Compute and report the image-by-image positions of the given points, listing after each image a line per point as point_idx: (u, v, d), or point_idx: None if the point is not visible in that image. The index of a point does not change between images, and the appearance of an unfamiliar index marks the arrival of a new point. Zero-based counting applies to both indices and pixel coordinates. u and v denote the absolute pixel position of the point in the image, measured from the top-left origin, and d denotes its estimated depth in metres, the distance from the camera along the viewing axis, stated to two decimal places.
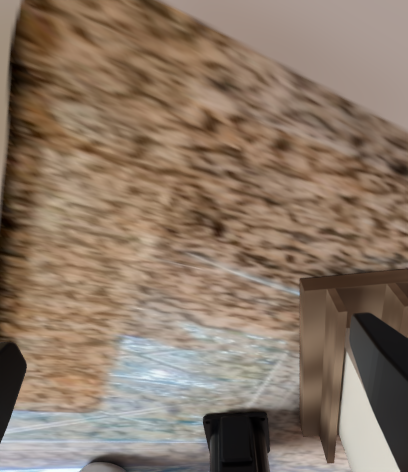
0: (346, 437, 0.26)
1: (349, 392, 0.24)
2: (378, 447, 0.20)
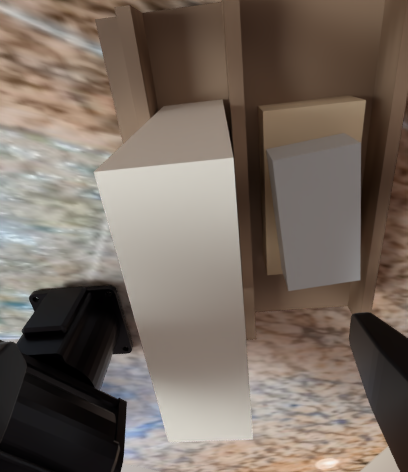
0: None
1: None
2: None
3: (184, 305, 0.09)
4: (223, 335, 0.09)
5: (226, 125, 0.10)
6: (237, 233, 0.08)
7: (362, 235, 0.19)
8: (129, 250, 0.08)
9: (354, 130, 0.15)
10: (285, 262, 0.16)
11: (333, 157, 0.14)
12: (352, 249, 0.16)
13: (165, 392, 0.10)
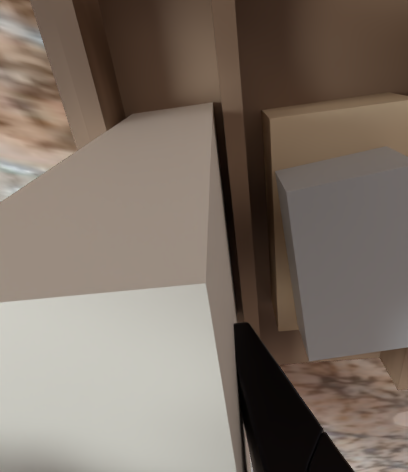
0: None
1: None
2: None
3: None
4: None
5: (209, 152, 0.06)
6: (227, 434, 0.03)
7: None
8: None
9: (401, 142, 0.11)
10: (305, 326, 0.12)
11: (377, 185, 0.09)
12: (399, 309, 0.11)
13: None
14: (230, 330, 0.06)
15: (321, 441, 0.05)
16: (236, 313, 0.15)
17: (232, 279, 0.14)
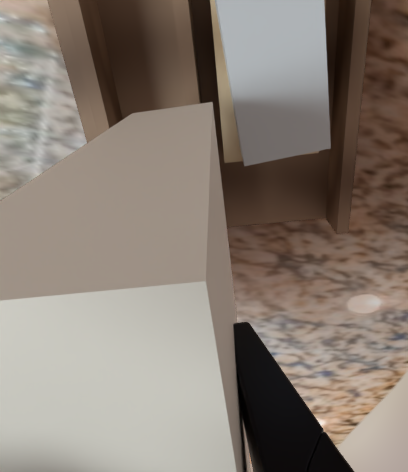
0: None
1: None
2: None
3: None
4: None
5: (208, 151, 0.06)
6: (227, 433, 0.03)
7: (337, 114, 0.16)
8: None
9: None
10: (238, 124, 0.13)
11: None
12: (318, 102, 0.13)
13: None
14: (230, 329, 0.06)
15: (321, 441, 0.05)
16: None
17: None
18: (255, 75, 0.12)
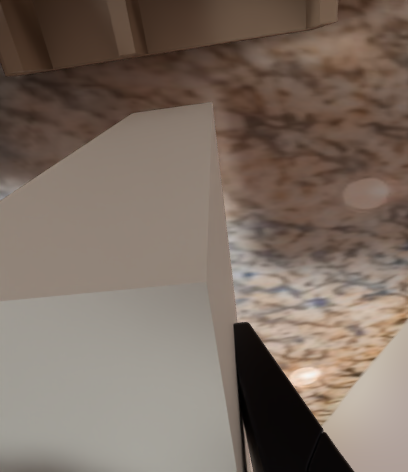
0: None
1: None
2: None
3: None
4: None
5: (209, 151, 0.06)
6: (228, 434, 0.03)
7: None
8: None
9: None
10: None
11: None
12: None
13: None
14: (230, 330, 0.06)
15: (321, 441, 0.05)
16: None
17: None
18: None
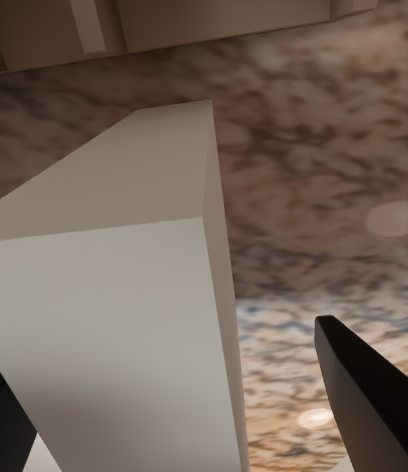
0: None
1: None
2: None
3: (137, 448, 0.05)
4: None
5: (206, 138, 0.07)
6: (220, 347, 0.04)
7: None
8: (26, 374, 0.04)
9: None
10: None
11: None
12: None
13: None
14: (225, 292, 0.07)
15: None
16: (234, 298, 0.16)
17: (230, 265, 0.15)
18: None
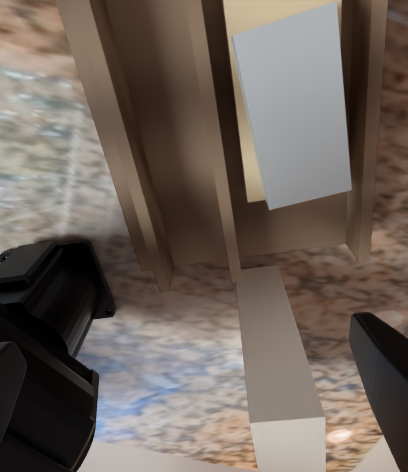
0: None
1: None
2: None
3: (290, 471, 0.15)
4: None
5: (302, 345, 0.16)
6: (324, 443, 0.14)
7: (354, 150, 0.17)
8: (262, 450, 0.14)
9: None
10: (262, 173, 0.14)
11: (305, 24, 0.11)
12: (338, 149, 0.13)
13: None
14: None
15: None
16: None
17: None
18: (277, 129, 0.13)
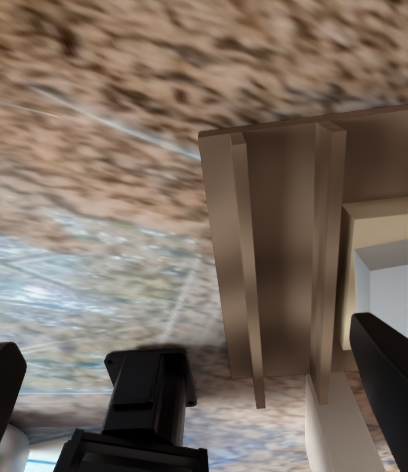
0: None
1: (316, 438, 0.25)
2: None
3: None
4: None
5: (385, 471, 0.20)
6: None
7: None
8: None
9: None
10: None
11: None
12: None
13: None
14: None
15: None
16: None
17: None
18: (390, 325, 0.17)
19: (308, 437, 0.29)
